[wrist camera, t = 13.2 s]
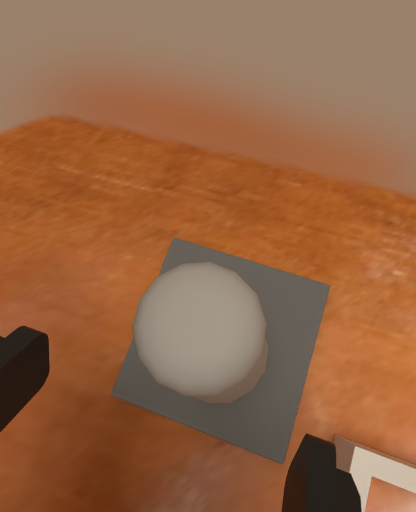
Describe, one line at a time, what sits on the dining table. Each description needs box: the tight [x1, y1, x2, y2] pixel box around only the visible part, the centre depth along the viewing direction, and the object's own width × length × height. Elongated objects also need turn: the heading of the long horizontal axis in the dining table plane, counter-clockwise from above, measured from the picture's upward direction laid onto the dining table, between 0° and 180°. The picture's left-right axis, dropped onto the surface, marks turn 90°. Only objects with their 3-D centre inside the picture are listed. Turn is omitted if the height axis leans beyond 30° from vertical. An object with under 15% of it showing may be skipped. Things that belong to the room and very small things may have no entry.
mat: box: [111, 238, 330, 464], centre depth 24 cm, size 11×11×1 cm
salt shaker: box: [132, 262, 268, 403], centre depth 17 cm, size 6×6×13 cm
